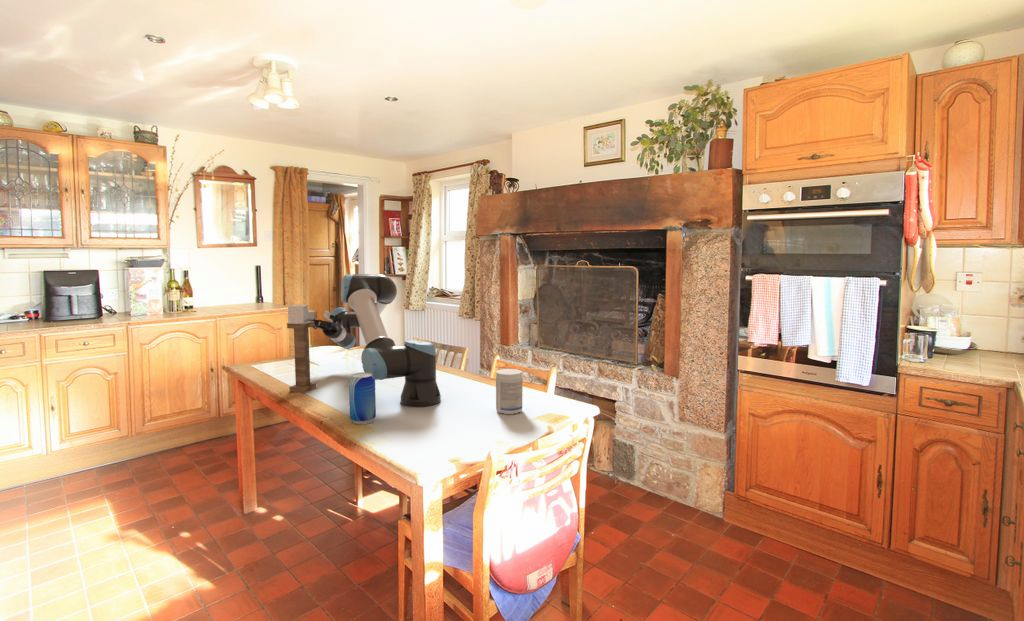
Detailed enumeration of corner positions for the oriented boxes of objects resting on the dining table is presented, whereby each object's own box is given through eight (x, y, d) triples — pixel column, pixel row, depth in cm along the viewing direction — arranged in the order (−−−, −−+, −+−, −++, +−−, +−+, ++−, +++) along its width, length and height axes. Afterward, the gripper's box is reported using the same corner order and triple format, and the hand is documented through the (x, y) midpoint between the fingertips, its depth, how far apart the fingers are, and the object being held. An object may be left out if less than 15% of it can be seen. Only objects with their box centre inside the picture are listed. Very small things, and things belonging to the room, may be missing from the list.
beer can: (366, 415, 179) (365, 370, 177) (380, 420, 174) (380, 374, 172) (344, 421, 173) (343, 375, 171) (359, 427, 167) (358, 379, 166)
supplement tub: (527, 411, 186) (528, 371, 184) (508, 417, 179) (509, 376, 178) (509, 405, 193) (509, 367, 191) (490, 410, 186) (490, 371, 185)
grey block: (303, 323, 203) (302, 306, 202) (288, 323, 203) (287, 305, 203) (320, 318, 219) (319, 302, 218) (306, 318, 219) (305, 302, 218)
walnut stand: (305, 393, 206) (302, 324, 203) (289, 391, 207) (287, 323, 204) (316, 387, 214) (314, 321, 210) (301, 386, 215) (298, 320, 212)
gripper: (357, 340, 229) (335, 321, 210) (307, 337, 234) (280, 319, 214) (361, 324, 232) (340, 305, 213) (311, 322, 237) (285, 303, 217)
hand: (310, 312), depth 214 cm, fingers open, 13 cm apart
